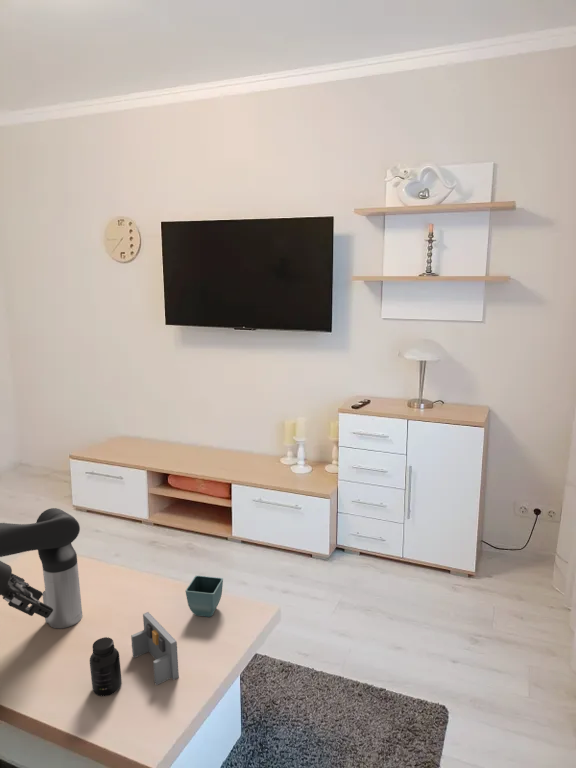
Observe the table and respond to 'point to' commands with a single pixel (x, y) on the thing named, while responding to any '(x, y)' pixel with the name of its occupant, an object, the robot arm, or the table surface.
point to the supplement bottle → (105, 667)
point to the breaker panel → (157, 648)
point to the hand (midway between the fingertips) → (44, 605)
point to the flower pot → (204, 595)
